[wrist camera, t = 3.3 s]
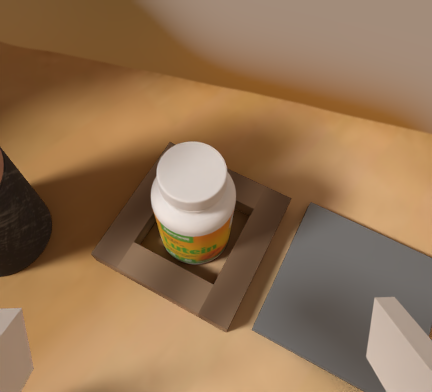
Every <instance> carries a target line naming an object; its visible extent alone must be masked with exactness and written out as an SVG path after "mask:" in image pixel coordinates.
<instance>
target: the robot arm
mask: <svg viewBox="0 0 432 392" xmlns="http://www.w3.org/2000/svg"><path fill="white" fill-rule="evenodd" d="M366 358H367V359H368V361H369V363H370V365H371V366H372V368H373V370H374V371H375V373H376V375H377V377H378V378H379V380H380V382H381V383H382V385H383V387H384V389H385V390H386V392H432V340H431V339H430V338H429V336H428V335H427V334H426V333H425V332H424V331H423V329H422V328H421V327H420V326H419V325H418V324H417V322H416V321H415V320H414V319H413V318H412V317H411V315H410V314H409V313H408V312H407V311H406V310H405V309H404V307H403V306H402V305H401V304H400V303H399V302H398V300H397V299H396V298H395V297H375V298H374V305H373V312H372V319H371V326H370V333H369V339H368V346H367V353H366ZM33 369H34V367H33V362H32V357H31V352H30V347H29V342H28V337H27V332H26V327H25V322H24V317H23V312H22V308H7V309H0V392H21V391H22V389H23V387H24V385H25V383H26V382H27V380H28V378H29V376H30V374H31V373H32V371H33Z"/></svg>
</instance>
